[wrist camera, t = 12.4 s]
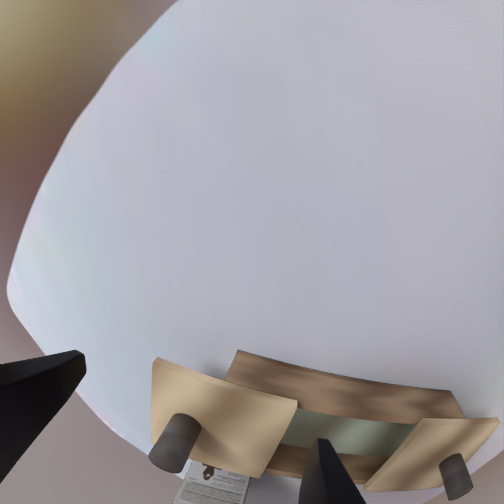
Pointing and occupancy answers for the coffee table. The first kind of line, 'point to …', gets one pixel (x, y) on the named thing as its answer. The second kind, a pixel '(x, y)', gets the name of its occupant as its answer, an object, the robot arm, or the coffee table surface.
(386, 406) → the walnut box
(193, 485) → the coffee box
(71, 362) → the robot arm
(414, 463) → the lid
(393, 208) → the coffee table surface
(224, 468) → the lid
